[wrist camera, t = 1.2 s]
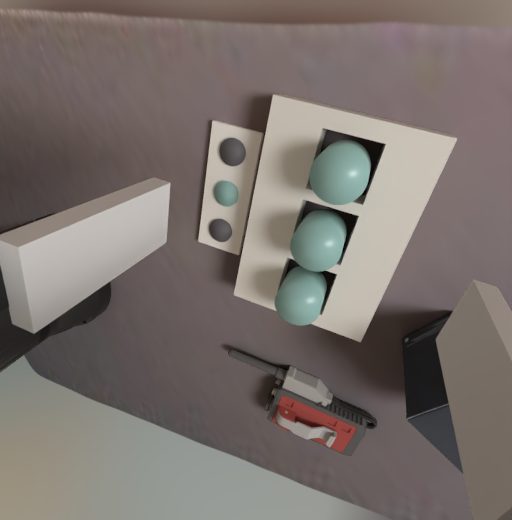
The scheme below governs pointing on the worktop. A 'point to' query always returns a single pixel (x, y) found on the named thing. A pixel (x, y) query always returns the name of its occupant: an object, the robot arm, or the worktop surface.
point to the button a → (301, 296)
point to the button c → (340, 172)
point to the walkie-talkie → (312, 408)
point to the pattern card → (229, 185)
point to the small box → (429, 390)
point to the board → (337, 206)
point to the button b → (319, 240)
